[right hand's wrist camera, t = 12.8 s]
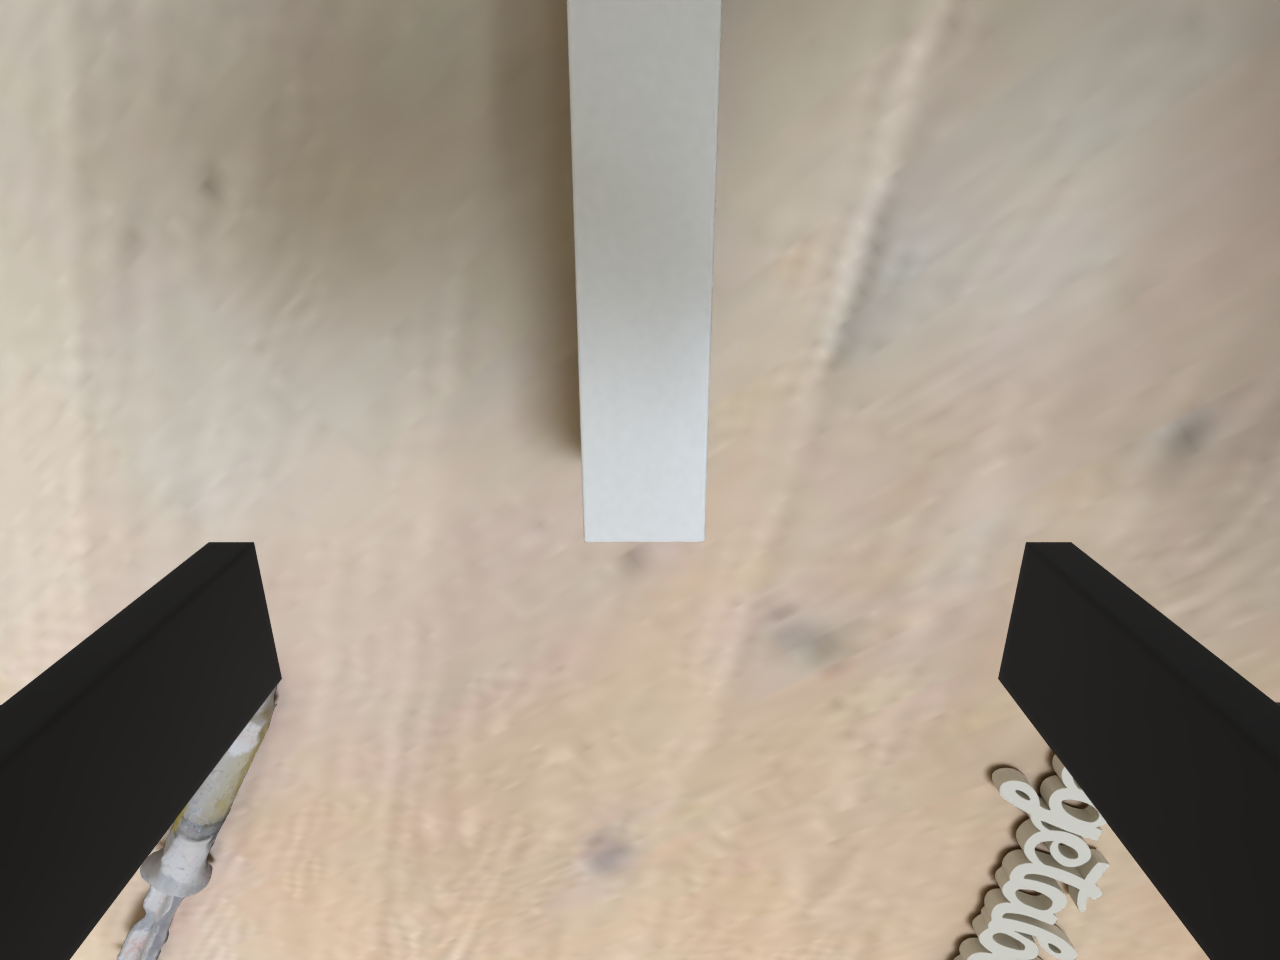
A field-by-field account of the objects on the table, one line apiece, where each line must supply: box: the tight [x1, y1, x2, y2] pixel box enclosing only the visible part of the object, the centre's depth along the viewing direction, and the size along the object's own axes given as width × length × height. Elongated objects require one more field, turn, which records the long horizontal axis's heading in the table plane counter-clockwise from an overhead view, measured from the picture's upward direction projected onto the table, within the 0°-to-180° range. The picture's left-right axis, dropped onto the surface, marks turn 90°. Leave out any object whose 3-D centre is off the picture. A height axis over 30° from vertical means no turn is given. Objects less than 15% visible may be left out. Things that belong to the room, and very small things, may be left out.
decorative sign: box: [954, 755, 1110, 960], centre depth 43 cm, size 26×1×10 cm
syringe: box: [117, 686, 277, 960], centre depth 42 cm, size 25×4×3 cm, turn 148°
